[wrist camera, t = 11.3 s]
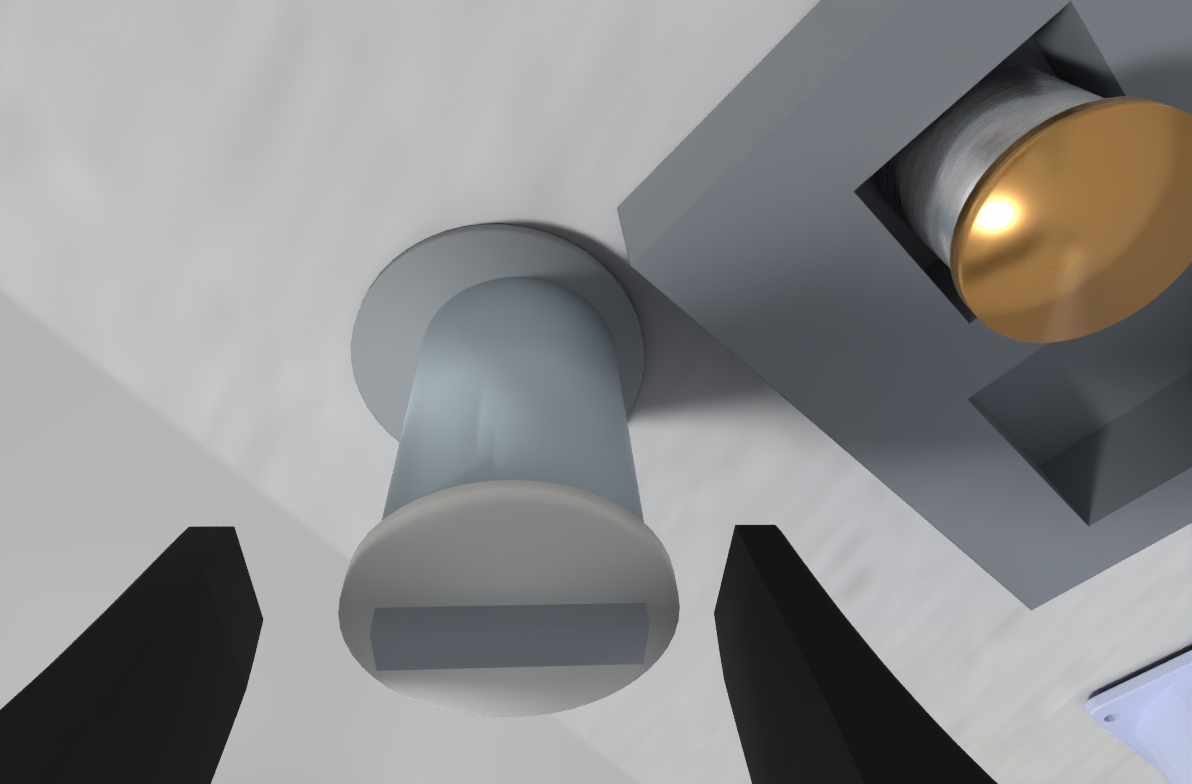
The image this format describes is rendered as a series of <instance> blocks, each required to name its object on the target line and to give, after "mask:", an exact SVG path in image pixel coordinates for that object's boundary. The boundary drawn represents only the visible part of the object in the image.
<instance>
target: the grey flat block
mask: <svg viewBox="0 0 1192 784" xmlns="http://www.w3.org/2000/svg"><path fill="white" fill-rule="evenodd" d="M1005 58H1008V59H1013V60H1015V61H1018V62H1021V63H1023V64H1026V65H1028V66H1030V67H1033V68H1035V69H1037V70H1040V71H1042V72H1044V73H1047V74H1049V75H1051V76H1054V77H1056V78H1058V79H1061V80H1063V81H1065V82H1068V83H1070V84H1072V85H1075V86H1077V87H1079V88H1082V89H1084V90H1086V91H1089V92H1091V93H1093V94H1096V95H1098V96H1100V97H1103V98H1111V97H1120V96H1128V97H1142V98H1147V99H1153V100H1156V101H1158V102H1161V103H1164V104H1166V105H1169V106H1171V107H1174V108H1177V109H1179V110H1182V111H1184V112H1187V113H1189V114H1191V115H1192V0H821V1H820V2H819V3H818V4H817V5H816V6H815V7H814V8H813V9H812V10H811V11H810V12H809V13H808V14H807V15H806V16H805V17H804V18H803V19H802V20H801V21H800V22H799V23H798V24H797V25H796V26H795V27H794V28H793V30H792V31H791V32H790V33H789V34H788V35H787V36H786V37H785V38H784V39H783V40H782V41H781V42H780V43H779V44H778V45H777V46H776V47H775V48H774V49H773V50H772V51H771V52H770V53H769V54H768V55H767V56H766V57H765V58H764V59H763V60H762V61H761V62H760V63H759V64H758V65H757V66H756V67H755V68H754V69H753V70H752V71H751V72H750V73H749V74H748V75H747V76H746V77H745V78H744V79H743V80H742V81H741V82H740V83H739V84H738V85H737V86H736V88H735V89H734V90H733V91H732V92H731V93H730V94H729V95H728V96H727V97H726V98H725V99H724V100H723V101H722V102H721V103H720V104H719V105H718V106H717V107H716V108H715V109H714V110H713V111H712V112H711V113H710V114H709V115H708V116H707V117H706V118H705V119H704V120H703V121H702V122H701V123H700V124H699V125H698V126H697V127H696V128H695V129H694V130H693V131H692V132H691V133H690V134H689V135H688V136H687V137H686V138H685V139H684V140H683V141H682V142H681V143H680V144H679V146H678V147H677V148H676V149H675V150H674V151H673V152H672V153H671V154H670V155H669V156H668V157H667V158H666V159H665V160H664V161H663V162H662V163H661V164H660V165H659V166H658V167H657V168H656V169H655V170H654V171H653V172H652V173H651V174H650V175H649V176H648V177H647V178H646V179H645V180H644V181H643V182H642V183H641V184H640V185H639V186H638V187H637V188H636V189H635V190H634V191H633V192H632V193H631V194H630V195H629V196H628V197H627V198H626V199H625V200H624V201H623V202H622V204H621V205H620V206H619V207H618V208H617V211H618V215H619V219H620V223H621V228H622V232H623V236H624V240H625V244H626V249H627V253H628V257H629V261H630V266H632V267H633V268H634V269H635V270H636V271H637V272H639V273H640V274H641V275H642V276H643V277H644V278H645V279H647V280H648V281H649V282H650V283H651V284H652V285H654V286H655V287H656V288H657V289H658V290H659V291H661V292H662V293H663V294H664V295H665V296H666V297H668V298H669V299H670V300H671V301H672V302H673V303H675V304H676V305H677V306H678V307H679V308H680V309H682V310H683V311H684V312H685V313H686V314H687V315H689V316H690V317H691V318H692V319H693V320H694V321H695V322H697V323H698V324H699V325H700V326H701V327H702V328H704V329H705V330H706V331H707V332H708V333H709V334H711V335H712V336H713V337H714V338H715V339H716V340H718V341H719V342H720V343H721V344H722V345H723V346H725V347H726V348H727V349H728V350H729V351H730V352H732V353H733V354H734V355H735V356H736V357H737V358H739V359H740V360H741V361H742V362H743V363H744V364H745V365H747V366H748V367H749V368H750V369H751V370H752V371H754V372H755V373H756V374H757V375H758V376H759V377H761V378H762V379H763V380H764V381H765V382H766V383H768V384H769V385H770V386H771V387H772V388H773V389H775V390H776V391H777V392H778V393H779V394H780V395H782V396H783V397H784V398H785V399H786V400H787V401H789V402H790V403H791V404H792V405H793V406H794V407H795V408H797V409H798V410H799V411H800V412H801V413H802V414H804V415H805V416H806V417H807V418H808V419H809V420H811V421H812V422H813V423H814V424H815V425H816V426H818V427H819V428H820V429H821V430H822V431H823V432H825V433H826V434H827V435H828V436H829V437H830V438H832V439H833V440H834V441H835V442H836V443H837V444H839V445H840V446H841V447H842V448H843V449H844V450H845V451H847V452H848V453H849V454H850V455H851V456H852V457H854V458H855V459H856V460H857V461H858V462H859V463H861V464H862V465H863V466H864V467H865V468H866V469H868V470H869V471H870V472H871V473H872V474H873V475H875V476H876V477H877V478H878V479H879V480H880V481H882V482H883V483H884V484H885V485H886V486H887V487H889V488H890V489H891V490H892V491H893V492H894V493H895V494H897V495H898V496H899V497H900V498H901V499H902V500H904V501H905V502H906V503H907V504H908V505H909V506H911V507H912V508H913V509H914V510H915V511H916V512H918V513H919V514H920V515H921V516H922V517H923V518H925V519H926V520H927V521H928V522H929V523H930V524H932V525H933V526H934V527H935V528H936V529H937V530H939V531H940V532H941V533H942V534H943V535H944V536H946V537H947V538H948V539H949V540H950V541H951V542H952V543H954V544H955V545H956V546H957V547H958V548H959V549H961V550H962V551H963V552H964V553H965V554H966V555H968V556H969V557H970V558H971V559H972V560H973V561H975V562H976V563H977V564H978V565H979V566H980V567H982V568H983V569H984V570H985V571H986V572H987V573H989V574H990V575H991V576H992V577H993V578H994V579H996V580H997V581H998V582H999V583H1000V584H1001V585H1002V586H1004V587H1005V588H1006V589H1007V590H1008V591H1009V592H1011V593H1012V594H1013V595H1014V596H1015V597H1016V598H1018V599H1019V600H1020V601H1021V602H1022V603H1023V604H1025V605H1026V606H1027V607H1028V608H1029V609H1030V610H1033V609H1035V608H1037V607H1038V606H1040V605H1042V604H1044V603H1046V602H1048V601H1049V600H1051V599H1053V598H1055V597H1057V596H1059V595H1060V594H1062V593H1064V592H1066V591H1068V590H1070V589H1071V588H1073V587H1075V586H1077V585H1079V584H1081V583H1082V582H1084V581H1086V580H1088V579H1090V578H1091V577H1093V576H1095V575H1097V574H1099V573H1101V572H1102V571H1104V570H1106V569H1108V568H1110V567H1112V566H1113V565H1115V564H1117V563H1119V562H1121V561H1123V560H1124V559H1126V558H1128V557H1130V556H1132V555H1134V554H1135V553H1137V552H1139V551H1141V550H1143V549H1145V548H1146V547H1148V546H1150V545H1152V544H1154V543H1156V542H1157V541H1159V540H1161V539H1163V538H1165V537H1166V536H1168V535H1170V534H1172V533H1174V532H1176V531H1177V530H1179V529H1181V528H1183V527H1185V526H1187V525H1188V524H1190V523H1192V262H1191V263H1190V264H1189V265H1188V267H1187V268H1186V269H1185V270H1184V271H1183V273H1182V274H1181V275H1180V276H1179V277H1178V278H1177V279H1176V280H1175V281H1174V282H1173V283H1172V284H1171V285H1170V286H1169V287H1168V288H1167V289H1165V290H1164V291H1163V292H1162V293H1161V294H1160V295H1158V296H1157V297H1156V298H1155V299H1154V300H1152V301H1151V302H1149V303H1148V304H1147V305H1145V306H1144V307H1143V308H1141V309H1140V310H1138V311H1137V312H1135V313H1133V314H1132V315H1130V316H1129V317H1127V318H1125V319H1123V320H1121V321H1119V322H1118V323H1116V324H1114V325H1112V326H1110V327H1107V328H1105V329H1102V330H1100V331H1098V332H1095V333H1092V334H1089V335H1086V336H1083V337H1080V338H1076V339H1071V340H1066V341H1060V342H1052V343H1031V342H1023V341H1018V340H1014V339H1010V338H1007V337H1005V336H1003V335H1001V334H998V333H996V332H995V331H993V330H992V329H990V328H989V327H987V326H986V325H985V324H984V323H983V322H982V321H981V320H980V319H979V318H978V317H977V316H976V315H975V314H974V313H973V312H972V311H971V310H970V309H969V308H968V307H967V306H966V305H965V303H964V302H963V300H962V299H961V297H960V296H959V294H958V292H957V290H956V288H955V286H954V283H953V279H952V275H951V269H950V268H949V267H948V266H947V265H946V264H945V263H944V262H943V261H942V260H941V259H940V258H939V257H938V256H937V255H936V254H935V253H934V252H933V251H932V250H931V249H930V248H929V247H928V246H927V245H926V244H925V243H924V242H923V241H922V240H921V239H920V238H919V237H918V236H917V235H916V234H915V233H914V232H913V231H912V230H911V229H910V228H909V227H908V226H907V225H906V224H905V223H904V222H903V221H902V220H901V219H900V218H899V217H898V216H897V215H896V214H895V213H894V212H893V211H892V210H891V208H890V207H889V206H888V204H887V203H886V200H885V198H884V196H883V194H882V191H881V187H880V182H879V169H880V168H881V167H882V166H883V165H884V164H885V163H886V162H888V161H889V160H890V159H891V158H892V157H893V156H894V155H896V154H897V153H898V152H899V151H900V150H901V149H902V148H904V147H905V146H906V145H907V144H908V143H909V142H910V141H912V140H913V139H914V138H915V137H916V136H917V135H918V134H920V133H921V132H922V131H923V130H924V129H925V128H926V127H928V126H929V125H930V124H931V123H932V122H933V121H934V120H936V119H937V118H938V117H939V116H940V115H941V114H942V113H944V112H945V111H946V110H947V109H948V108H949V107H950V106H952V105H953V104H954V103H955V102H956V101H957V100H958V99H960V98H961V97H962V96H963V95H964V94H965V93H966V92H968V91H969V90H970V89H971V88H972V87H973V86H974V85H976V84H977V83H978V82H979V81H980V80H981V79H982V78H984V77H985V76H986V75H987V74H988V73H989V72H990V71H992V70H993V69H994V68H995V67H996V66H997V65H998V64H1000V63H1001V62H1002V61H1003V60H1004V59H1005Z"/></svg>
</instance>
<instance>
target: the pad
mask: <svg viewBox="0 0 1192 784" xmlns="http://www.w3.org/2000/svg"><path fill="white" fill-rule="evenodd" d="M508 277H525V278H535V279H540V280H545V281H548V282H551V283H555V284H558V285H560V286H562V287H564V288H567V289H569V290H571V291H573V292H574V293H576V294H577V295H579V296H580V297H582V298H583V299H584V300H586V301H587V302H588V303H589V304H590V305H592V307H593V308H594V309H595V310H596V311H597V312H598V313H599V314H600V316H601V317H602V319H603V320H604V321H605V323H606V325H607V327H608V329H609V331H610V333H611V335H612V339H613V342H614V346H615V352H616V358H617V364H618V370H619V376H620V382H621V388H622V394H623V400H624V406H625V412H626V417H627V415H628V413H629V412H630V410H631V408H632V407H633V405H634V403H635V401H636V398H637V396H638V393H639V391H640V388H641V384H642V380H643V376H644V366H645V351H644V341H643V337H642V332H641V328H640V323H639V319H638V316H637V313H636V311H635V308H634V306H633V303H632V301H631V300H630V298H629V296H628V294H627V293H626V291H625V289H624V287H623V286H622V285H621V284H620V282H619V281H618V280H617V279H616V277H615V276H614V275H613V273H611V272H610V271H609V270H608V269H607V268H606V267H605V266H604V265H603V264H602V263H601V262H600V261H599V260H598V259H596V258H595V257H593V256H592V255H591V254H589V253H588V252H587V251H585V250H584V249H582V248H580V247H579V246H577V245H575V244H573V243H571V242H569V241H568V240H566V239H563V238H561V237H558V236H555V235H553V234H550V233H548V232H544V231H540V230H537V229H533V228H529V227H523V226H515V225H508V224H483V225H474V226H465V227H461V228H457V229H453V230H448V231H444V232H442V233H439V234H437V235H434V236H432V237H429V238H426V239H424V240H423V241H421V242H419V243H417V244H415V245H413V246H412V247H410V248H408V249H407V250H406V251H404V252H403V253H402V254H400V255H399V256H398V257H396V258H395V259H394V260H393V261H392V262H391V263H390V264H389V265H388V266H387V267H386V268H385V269H384V270H383V271H382V272H381V273H380V274H379V275H378V277H377V278H376V280H375V281H374V282H373V284H372V285H371V286H370V288H369V290H368V292H367V294H366V296H365V298H364V300H363V302H362V305H361V307H360V310H359V313H358V316H357V319H356V322H355V325H354V328H353V335H352V342H351V361H352V367H353V372H354V377H355V380H356V383H357V386H358V389H359V392H360V394H361V396H362V398H363V400H364V402H365V403H366V405H367V407H368V409H369V410H370V411H371V413H372V414H373V416H374V417H375V418H376V420H377V421H378V422H379V423H380V424H381V425H382V426H383V428H384V429H385V430H386V431H387V432H388V433H389V434H390V435H392V436H393V437H394V438H395V439H396V440H397V441H399V442H400V439H401V434H402V430H403V425H404V421H405V416H406V412H407V408H408V403H409V399H410V394H411V390H412V386H413V381H414V377H415V372H416V368H417V363H418V359H419V355H420V350H421V346H422V341H423V338H424V335H425V332H426V330H427V328H428V326H429V324H430V322H431V320H432V319H433V317H434V316H435V314H436V313H437V312H438V311H439V309H440V308H441V307H442V306H443V305H444V304H445V303H446V302H448V301H449V300H450V299H451V298H453V297H454V296H455V295H457V294H458V293H460V292H462V291H464V290H465V289H467V288H469V287H472V286H474V285H476V284H479V283H482V282H486V281H489V280H493V279H500V278H508Z"/></svg>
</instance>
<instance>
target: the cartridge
mask: <svg viewBox="0 0 1192 784" xmlns="http://www.w3.org/2000/svg"><path fill="white" fill-rule="evenodd" d="M679 608H680V607H679V598H678V591H677V585H676V580H675V575H674V570H673V567H672V564H671V561H670V558H669V555H668V553H667V552H666V550H665V548H664V546H663V544H662V542H661V541H660V540H659V539H658V537H657V536H656V535H655V534H654V532H653V531H652V530H651V529H650V528H649V527H648V526H647V525H646V524H644V521H643V515H642V509H641V503H640V497H639V491H638V485H637V479H636V473H635V467H634V460H633V454H632V448H631V442H630V436H629V430H628V424H627V418H626V412H625V406H624V400H623V394H622V388H621V382H620V376H619V370H618V364H617V358H616V352H615V346H614V342H613V339H612V335H611V333H610V331H609V329H608V327H607V325H606V323H605V321H604V320H603V319H602V317H601V316H600V314H599V313H598V312H597V311H596V310H595V309H594V308H593V307H592V305H590V304H589V303H588V302H587V301H586V300H584V299H583V298H582V297H580V296H579V295H577V294H576V293H574V292H573V291H571V290H569V289H567V288H564V287H562V286H560V285H558V284H555V283H551V282H548V281H545V280H540V279H535V278H525V277H508V278H500V279H493V280H489V281H486V282H482V283H479V284H476V285H474V286H472V287H469V288H467V289H465V290H464V291H462V292H460V293H458V294H457V295H455V296H454V297H453V298H451V299H450V300H449V301H448V302H446V303H445V304H444V305H443V306H442V307H441V308H440V309H439V311H438V312H437V313H436V314H435V316H434V317H433V319H432V320H431V322H430V324H429V326H428V328H427V330H426V332H425V335H424V338H423V341H422V346H421V350H420V355H419V359H418V363H417V368H416V372H415V377H414V381H413V386H412V390H411V394H410V399H409V403H408V408H407V412H406V416H405V421H404V425H403V430H402V434H401V439H400V443H399V447H398V452H397V456H396V461H395V465H394V470H393V474H392V478H391V483H390V487H389V492H388V496H387V501H386V505H385V509H384V514H383V518H382V521H381V522H380V523H379V524H378V525H377V526H376V527H374V528H373V529H372V530H371V531H370V532H369V533H368V534H367V536H366V537H365V538H364V539H363V541H362V542H361V543H360V544H359V546H358V548H357V549H356V551H355V553H354V555H353V557H352V559H351V561H350V564H349V567H348V570H347V573H346V577H345V581H344V585H343V588H342V592H341V597H340V602H339V622H340V629H341V632H342V635H343V638H344V640H345V643H346V644H347V646H348V648H349V650H350V652H351V653H352V655H353V656H354V657H355V659H356V660H357V661H358V662H359V663H360V665H361V666H362V667H363V668H364V669H365V670H366V671H368V673H370V674H371V675H372V676H373V677H374V678H376V679H377V680H378V681H380V682H381V683H382V684H384V685H385V686H387V687H389V688H390V689H392V690H394V691H396V692H397V693H399V694H401V695H403V696H405V697H408V698H410V699H412V700H414V701H417V702H419V703H423V704H425V705H429V706H432V707H434V708H438V709H442V710H446V711H451V712H455V713H461V714H468V715H474V716H486V717H487V716H488V717H524V716H534V715H535V716H536V715H543V714H550V713H555V712H560V711H564V710H569V709H573V708H576V707H579V706H583V705H586V704H589V703H592V702H594V701H597V700H599V699H602V698H604V697H607V696H609V695H611V694H613V693H615V692H616V691H618V690H620V689H622V688H624V687H625V686H627V685H629V684H630V683H632V682H633V681H635V680H636V679H637V678H639V677H640V676H641V675H642V674H644V673H645V672H646V671H647V670H649V669H650V668H651V667H652V665H653V664H654V663H655V662H656V661H657V660H658V659H659V658H660V657H661V655H662V654H663V653H664V651H665V650H666V649H667V647H668V645H669V643H670V641H671V639H672V638H673V636H674V633H675V630H676V627H677V623H678V618H679Z"/></svg>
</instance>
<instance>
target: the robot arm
mask: <svg viewBox="0 0 1192 784" xmlns="http://www.w3.org/2000/svg"><path fill="white" fill-rule="evenodd" d="M714 616H715V623H716V630H717V637H718V644H719V651H720V657H721V663H722V669H723V675H724V681H725V685H726V688H727V692H728V696H729V700H730V704H731V707H732V711H733V715H734V719H735V722H736V726H737V730H738V734H739V737H740V741H741V745H742V748H743V752H744V756H745V759H746V763H747V767H748V770H749V774H750V777H751V781H752V784H997V783H996V782H995V781H994V780H993V779H992V778H991V777H990V776H989V775H988V774H987V773H986V772H985V771H984V770H983V769H982V768H981V767H980V766H979V765H978V764H977V763H976V762H975V761H974V760H973V759H972V758H971V757H970V756H969V755H968V754H967V753H966V752H965V751H964V750H963V749H962V748H961V747H960V746H959V745H958V744H957V743H956V742H955V741H954V740H953V739H952V738H951V737H950V736H949V735H948V734H947V733H946V732H945V731H944V730H943V729H942V728H941V727H940V726H939V725H938V724H937V723H936V721H935V720H934V719H933V718H932V717H931V716H930V715H929V714H928V713H927V712H926V711H925V710H924V709H923V707H922V706H921V705H920V704H919V703H918V702H917V701H916V700H915V699H914V697H913V696H912V695H911V694H910V693H909V692H908V691H907V690H906V689H905V687H904V686H903V685H902V684H901V683H900V682H899V681H898V680H897V679H896V677H895V676H894V675H893V674H892V673H891V672H890V670H889V669H888V668H887V667H886V666H885V665H884V663H883V662H882V661H881V660H880V659H879V658H878V656H877V655H876V654H875V653H874V651H873V650H872V649H871V648H870V647H869V645H868V644H867V643H866V642H865V640H864V639H863V638H862V637H861V636H860V634H859V633H858V632H857V631H856V629H855V628H854V627H853V626H852V625H851V623H850V622H849V621H848V620H847V618H846V617H845V616H844V615H843V613H842V612H841V611H840V609H839V608H838V607H837V606H836V604H835V603H834V602H833V600H832V599H831V598H830V597H829V595H828V594H827V593H826V591H825V590H824V589H823V587H822V586H821V585H820V583H819V582H818V581H817V579H816V578H815V577H814V575H813V574H812V573H811V571H810V570H809V569H808V567H807V566H806V565H805V563H804V562H803V561H802V559H801V558H800V557H799V555H798V554H797V552H796V551H795V550H794V548H793V547H792V546H791V544H790V543H789V541H788V540H787V539H786V537H785V536H784V535H783V533H782V532H781V530H780V529H779V528H778V527H777V526H776V525H735V529H734V533H733V537H732V541H731V545H730V549H729V553H728V558H727V562H726V566H725V570H724V574H723V578H722V582H721V587H720V591H719V595H718V599H717V603H716V607H715V611H714ZM262 623H263V617H262V614H261V610H260V607H259V605H258V601H257V598H256V594H255V591H254V588H253V585H252V582H251V579H250V576H249V572H248V569H247V566H246V563H245V560H244V556H243V553H242V550H241V547H240V544H239V540H238V537H237V534H236V531H235V528H234V527H188V528H187V529H186V530H185V531H184V532H183V533H182V534H181V535H180V536H179V537H178V538H177V539H176V540H175V541H174V542H173V543H172V544H171V545H170V546H169V547H168V548H167V549H166V550H165V551H164V552H163V553H162V554H161V555H160V556H159V557H158V558H157V559H156V560H155V561H154V562H153V563H152V564H151V565H150V566H149V567H148V568H147V569H146V570H145V571H144V572H143V573H142V574H141V575H140V576H139V577H138V578H137V579H136V580H135V581H134V582H133V584H131V585H130V586H129V587H128V588H127V589H126V591H125V592H124V593H123V594H122V595H121V596H120V597H119V598H118V599H117V600H116V601H115V602H114V603H113V604H112V605H111V606H110V607H109V608H108V609H107V610H106V611H105V612H104V613H103V614H102V615H101V616H100V617H99V618H97V619H96V620H95V622H93V623H92V624H91V625H90V626H89V627H88V628H87V629H86V630H85V631H84V632H83V633H82V634H81V635H80V636H79V637H78V638H77V639H76V640H75V641H74V642H73V643H72V644H71V645H70V646H69V647H68V648H67V649H66V650H65V651H64V652H63V653H62V654H61V655H59V657H58V658H56V659H55V660H54V662H52V663H51V664H50V665H49V666H48V667H47V668H46V669H45V670H44V671H43V672H42V673H40V674H39V675H38V676H37V677H36V678H35V679H34V680H33V681H32V682H31V683H29V684H28V685H27V686H26V687H25V688H24V689H23V690H22V691H21V692H19V693H18V694H17V695H16V696H15V697H14V698H13V699H12V700H11V701H10V702H8V703H7V704H6V705H5V706H4V707H3V708H2V709H1V710H0V784H211V781H212V779H213V776H214V774H215V771H216V768H217V766H218V763H219V761H220V758H221V755H222V753H223V750H224V747H225V745H226V742H227V740H228V737H229V734H230V731H231V729H232V726H233V723H234V721H235V718H236V716H237V713H238V710H239V707H240V704H241V702H242V699H243V696H244V693H245V691H246V688H247V684H248V680H249V675H250V672H251V669H252V665H253V661H254V657H255V653H256V648H257V644H258V640H259V635H260V631H261V627H262ZM1084 708H1085V710H1086V711H1087V713H1088V714H1089V716H1090V717H1091V718H1092V719H1093V720H1094V721H1095V722H1097V723H1098V724H1099V725H1101V726H1102V727H1103V728H1104V729H1106V730H1107V731H1108V732H1110V733H1111V734H1112V735H1113V736H1115V737H1116V738H1117V739H1118V740H1120V741H1121V742H1122V743H1124V744H1125V745H1126V746H1127V747H1129V748H1130V749H1131V750H1133V751H1134V752H1135V753H1136V754H1138V755H1139V756H1140V757H1142V758H1143V759H1144V760H1145V761H1147V762H1148V763H1149V764H1151V765H1152V766H1153V767H1154V768H1156V769H1157V770H1158V771H1159V772H1161V774H1162V775H1163V777H1164V778H1165V780H1166V781H1167V783H1168V784H1192V650H1190V651H1188V652H1186V653H1184V654H1182V655H1180V656H1177V657H1175V658H1173V659H1171V660H1169V661H1167V662H1165V663H1163V664H1161V665H1159V666H1157V667H1155V668H1153V669H1150V670H1148V671H1146V672H1144V673H1142V674H1140V675H1138V676H1136V677H1134V678H1132V679H1130V680H1128V681H1125V682H1123V683H1121V684H1119V685H1117V686H1115V687H1113V688H1111V689H1109V690H1107V691H1105V692H1103V693H1100V694H1098V695H1096V696H1094V697H1092V698H1091V699H1089V700H1088V701H1087V702H1086V703H1085V706H1084Z"/></svg>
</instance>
